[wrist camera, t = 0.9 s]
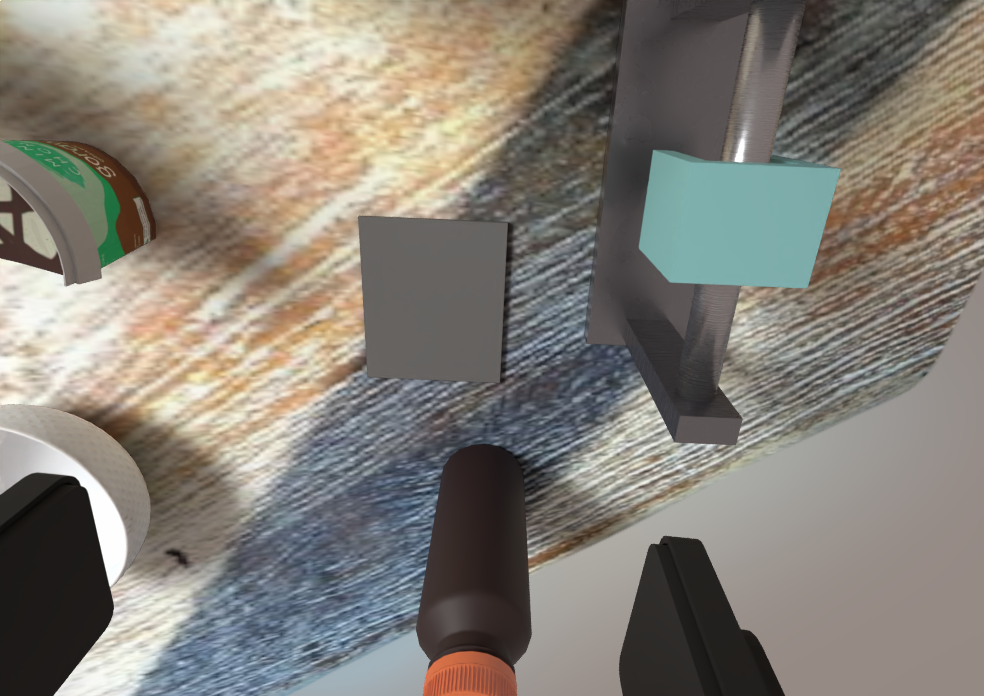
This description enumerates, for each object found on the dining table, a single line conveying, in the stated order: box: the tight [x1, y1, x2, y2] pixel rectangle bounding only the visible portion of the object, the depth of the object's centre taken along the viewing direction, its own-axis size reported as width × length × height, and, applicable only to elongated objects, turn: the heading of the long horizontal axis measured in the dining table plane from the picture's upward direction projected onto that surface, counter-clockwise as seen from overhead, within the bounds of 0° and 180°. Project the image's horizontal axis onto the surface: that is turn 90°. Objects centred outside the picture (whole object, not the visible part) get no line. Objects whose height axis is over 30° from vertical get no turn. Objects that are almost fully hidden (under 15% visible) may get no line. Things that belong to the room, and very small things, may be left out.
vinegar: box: [416, 444, 532, 696], centre depth 37 cm, size 7×7×20 cm
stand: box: [584, 0, 807, 445], centre depth 30 cm, size 22×8×14 cm, turn 178°
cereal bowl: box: [0, 404, 151, 588], centre depth 43 cm, size 17×17×7 cm
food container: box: [0, 140, 156, 286], centre depth 32 cm, size 12×6×10 cm, turn 73°
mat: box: [358, 216, 508, 383], centre depth 40 cm, size 12×10×1 cm
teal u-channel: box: [639, 150, 841, 288], centre depth 26 cm, size 5×6×6 cm
